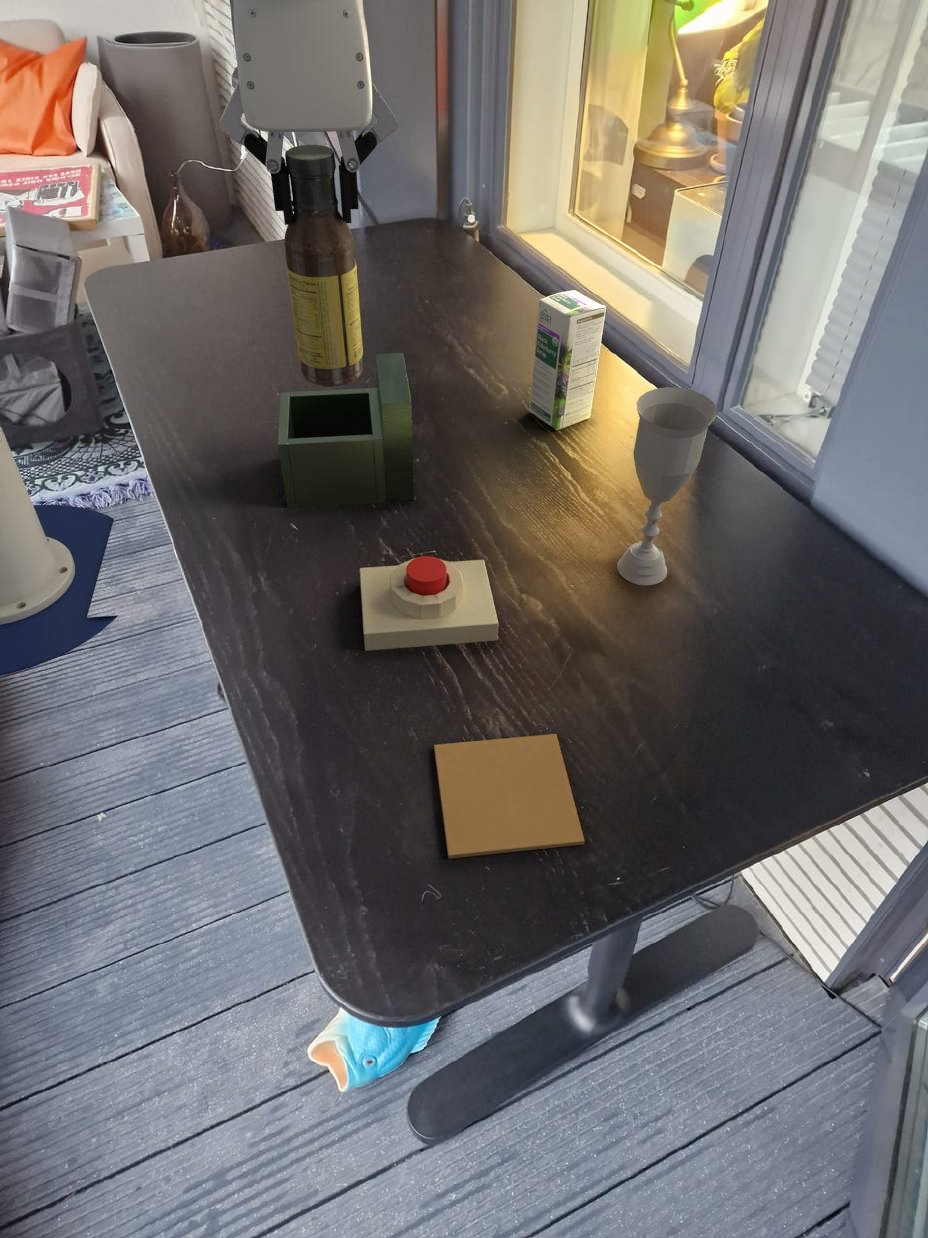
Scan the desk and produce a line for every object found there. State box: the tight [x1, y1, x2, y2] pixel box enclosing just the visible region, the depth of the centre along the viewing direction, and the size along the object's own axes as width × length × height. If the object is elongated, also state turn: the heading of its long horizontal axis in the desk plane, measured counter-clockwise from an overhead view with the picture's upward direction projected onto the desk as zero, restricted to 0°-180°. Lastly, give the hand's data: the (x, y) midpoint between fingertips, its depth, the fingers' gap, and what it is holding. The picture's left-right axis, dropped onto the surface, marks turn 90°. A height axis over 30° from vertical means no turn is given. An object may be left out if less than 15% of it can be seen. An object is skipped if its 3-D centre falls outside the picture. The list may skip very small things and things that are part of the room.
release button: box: [406, 555, 446, 596], centre depth 77 cm, size 4×4×2 cm
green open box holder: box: [277, 352, 415, 509], centre depth 91 cm, size 14×11×12 cm
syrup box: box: [528, 289, 607, 431], centre depth 101 cm, size 6×6×14 cm
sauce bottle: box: [283, 144, 364, 388], centre depth 76 cm, size 6×6×20 cm
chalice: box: [616, 386, 718, 586], centre depth 79 cm, size 7×7×18 cm
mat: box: [433, 733, 585, 859], centre depth 65 cm, size 10×10×1 cm
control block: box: [359, 557, 499, 651], centre depth 78 cm, size 12×9×4 cm
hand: (317, 216), depth 73 cm, fingers closed on sauce bottle, 4 cm apart
